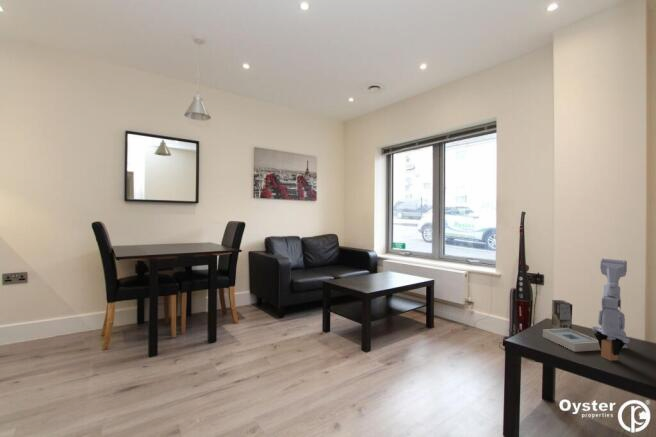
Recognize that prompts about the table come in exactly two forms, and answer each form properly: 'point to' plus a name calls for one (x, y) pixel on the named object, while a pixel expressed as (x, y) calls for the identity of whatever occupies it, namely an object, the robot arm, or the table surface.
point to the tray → (568, 344)
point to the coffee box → (561, 314)
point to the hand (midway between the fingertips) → (609, 352)
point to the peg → (608, 350)
